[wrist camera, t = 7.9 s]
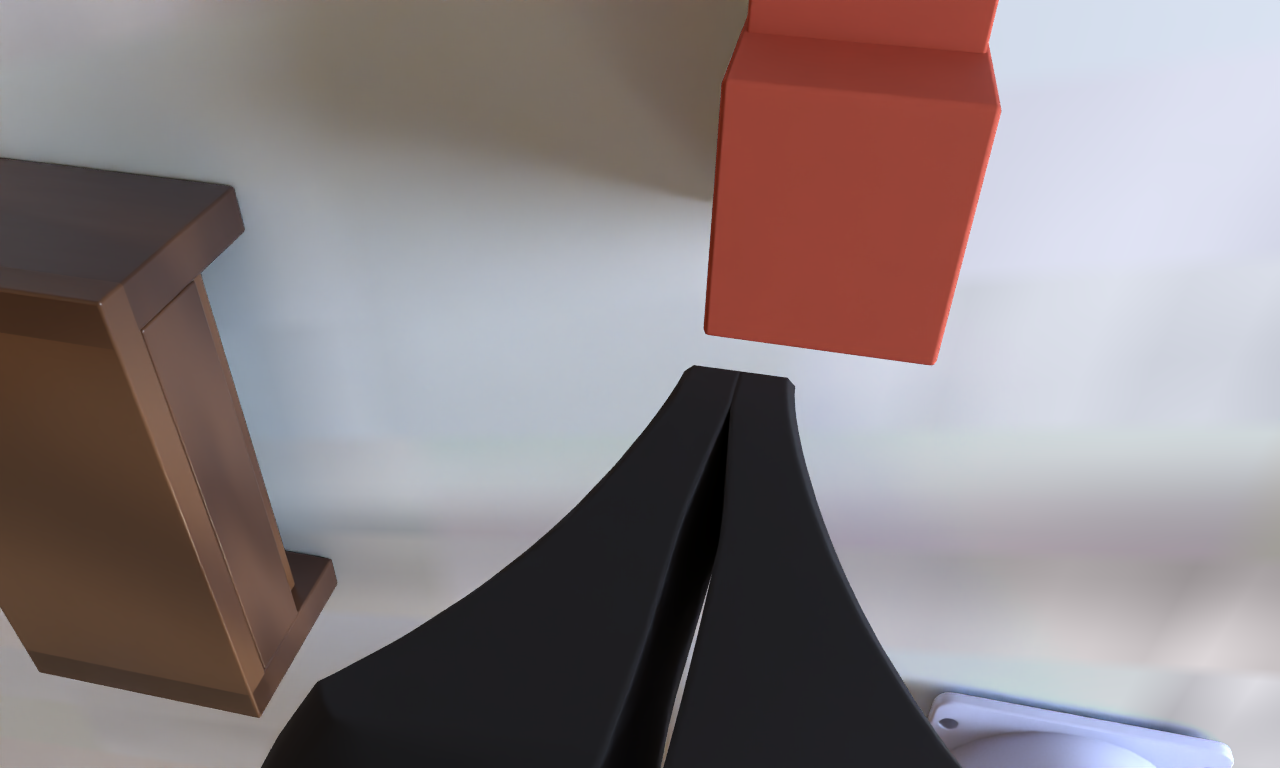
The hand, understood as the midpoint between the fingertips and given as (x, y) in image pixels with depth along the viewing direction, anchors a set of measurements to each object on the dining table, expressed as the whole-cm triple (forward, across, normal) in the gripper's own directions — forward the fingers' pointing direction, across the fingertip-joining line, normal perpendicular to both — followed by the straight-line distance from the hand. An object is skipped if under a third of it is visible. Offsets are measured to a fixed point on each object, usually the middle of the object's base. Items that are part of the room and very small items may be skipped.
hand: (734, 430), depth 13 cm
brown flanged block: (+8, +16, +9) cm, 20 cm away
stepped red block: (+8, -1, -2) cm, 9 cm away
